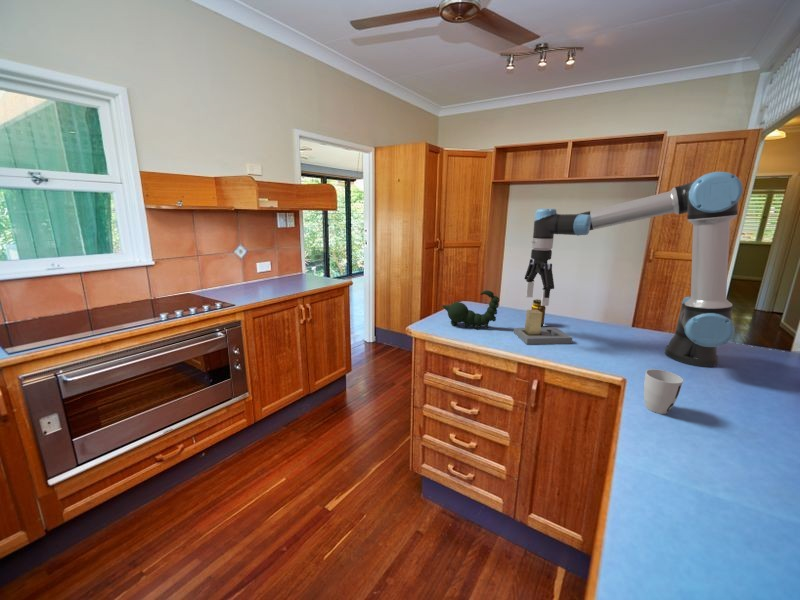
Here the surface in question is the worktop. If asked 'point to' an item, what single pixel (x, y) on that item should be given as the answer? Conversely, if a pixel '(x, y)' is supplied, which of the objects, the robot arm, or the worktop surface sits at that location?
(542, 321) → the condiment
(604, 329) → the worktop surface
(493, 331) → the worktop surface
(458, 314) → the toy figurine
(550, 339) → the socket plate
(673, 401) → the cup
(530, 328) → the brass peg
